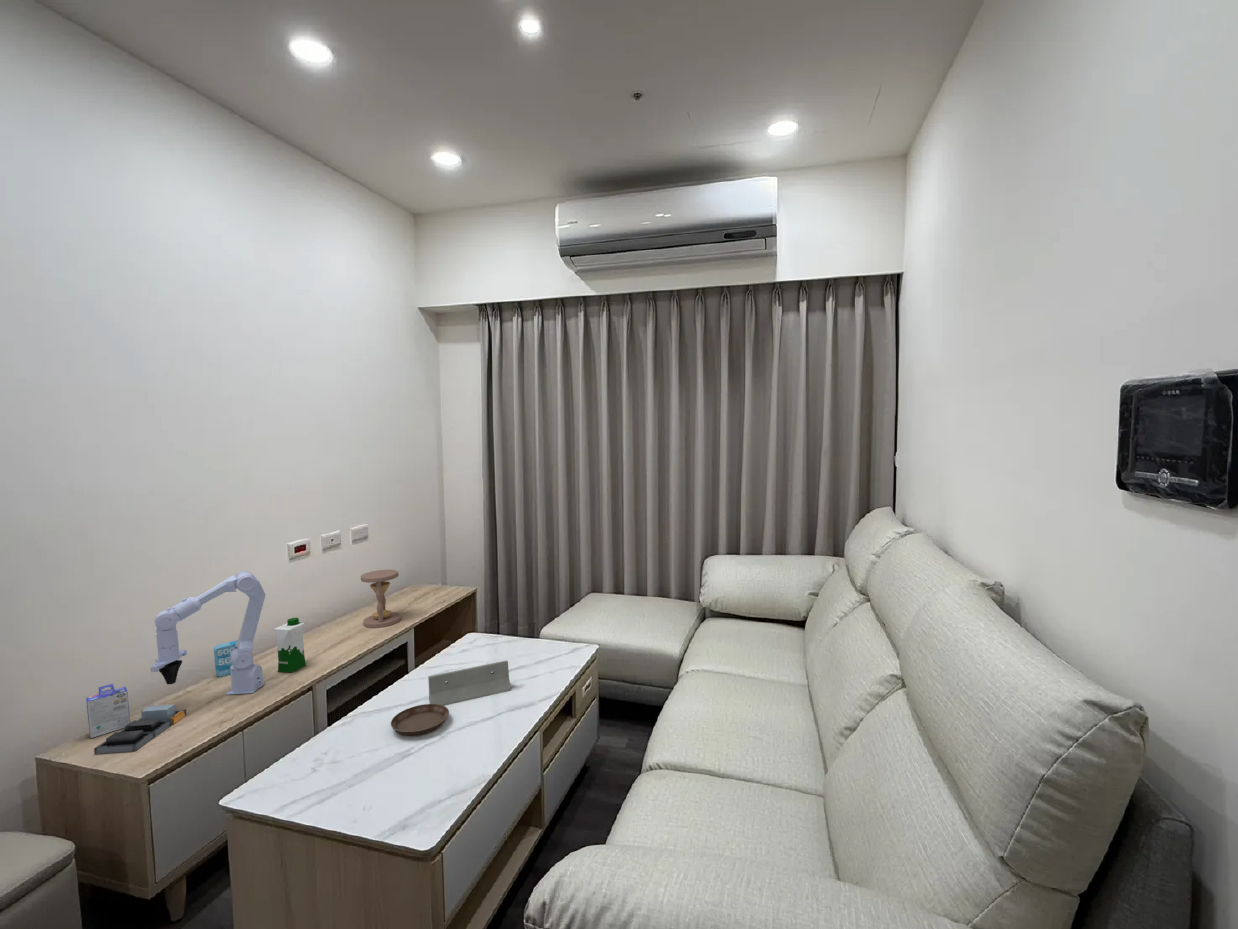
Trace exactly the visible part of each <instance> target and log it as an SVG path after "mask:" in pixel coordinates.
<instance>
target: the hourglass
mask: <svg viewBox="0 0 1238 929" xmlns="http://www.w3.org/2000/svg"><path fill="white" fill-rule="evenodd" d="M398 577H399V571H398V570H397V569H379V570H373V571H368V572H366V573H363V574H361V575H360V581H361V582H362V583H370V585H369V586H370V588H371V589H372V590H373V592H374V593H375V597H376V600H377V605H376V611H375V612H373V613H372V614H371V615H370V616H367V617H365V618H364V619H363V620H362V621H363V626H364V627H365V628H369V629H379V628H386V627H390V626H393V625H395V624H397V623H399V622H400V621H401V620H402V616H401V614H400V613H399V612H394V611H393V612H392V611H391V610H388V609H386V602H387V600H386V597H385V593H386V592H387V590H388V589H389V587H390V585H391V582H390V581H391V580H395V579H396V578H398Z"/></svg>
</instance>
